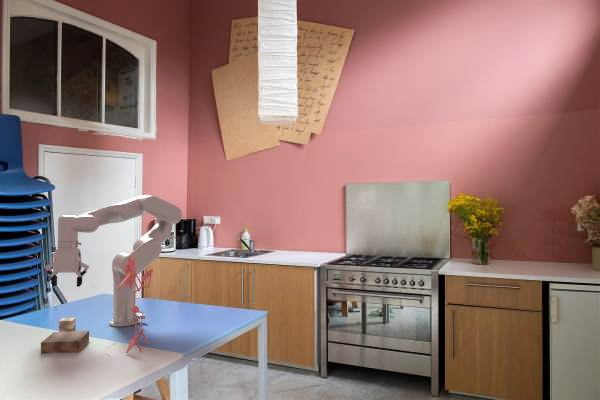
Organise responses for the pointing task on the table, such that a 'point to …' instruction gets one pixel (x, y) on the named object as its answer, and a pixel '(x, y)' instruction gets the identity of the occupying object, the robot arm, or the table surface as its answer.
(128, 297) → the robot arm
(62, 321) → the maple block
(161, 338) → the table surface
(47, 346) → the walnut base
